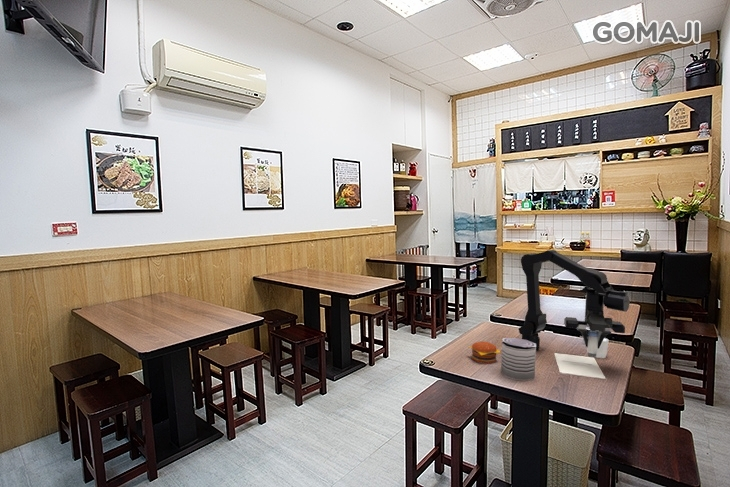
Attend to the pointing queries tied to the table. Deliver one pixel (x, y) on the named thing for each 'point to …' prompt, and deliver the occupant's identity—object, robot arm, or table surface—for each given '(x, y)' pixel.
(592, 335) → the marker
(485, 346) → the hamburger
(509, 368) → the can
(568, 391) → the table surface
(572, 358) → the paper
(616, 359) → the table surface
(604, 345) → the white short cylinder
